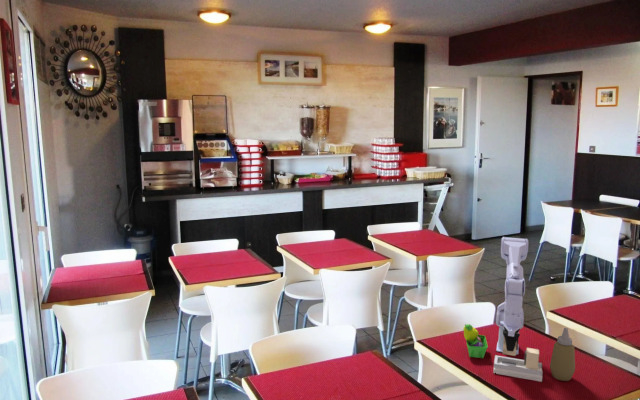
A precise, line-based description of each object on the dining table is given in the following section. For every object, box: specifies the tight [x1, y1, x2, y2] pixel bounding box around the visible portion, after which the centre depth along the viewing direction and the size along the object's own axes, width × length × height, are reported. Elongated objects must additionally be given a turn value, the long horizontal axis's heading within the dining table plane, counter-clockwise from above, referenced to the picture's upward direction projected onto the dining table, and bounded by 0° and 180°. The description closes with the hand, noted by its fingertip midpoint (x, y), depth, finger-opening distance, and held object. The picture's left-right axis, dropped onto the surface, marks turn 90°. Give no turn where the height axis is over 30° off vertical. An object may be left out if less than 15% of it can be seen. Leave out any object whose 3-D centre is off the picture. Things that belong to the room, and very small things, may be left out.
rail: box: [492, 347, 543, 383], centre depth 189 cm, size 10×16×8 cm, turn 69°
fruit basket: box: [462, 323, 489, 359], centre depth 204 cm, size 11×9×11 cm
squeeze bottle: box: [549, 327, 576, 382], centre depth 184 cm, size 8×8×18 cm
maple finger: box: [502, 337, 519, 357], centre depth 189 cm, size 4×5×7 cm
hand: (510, 348), depth 189 cm, fingers closed on maple finger, 4 cm apart
